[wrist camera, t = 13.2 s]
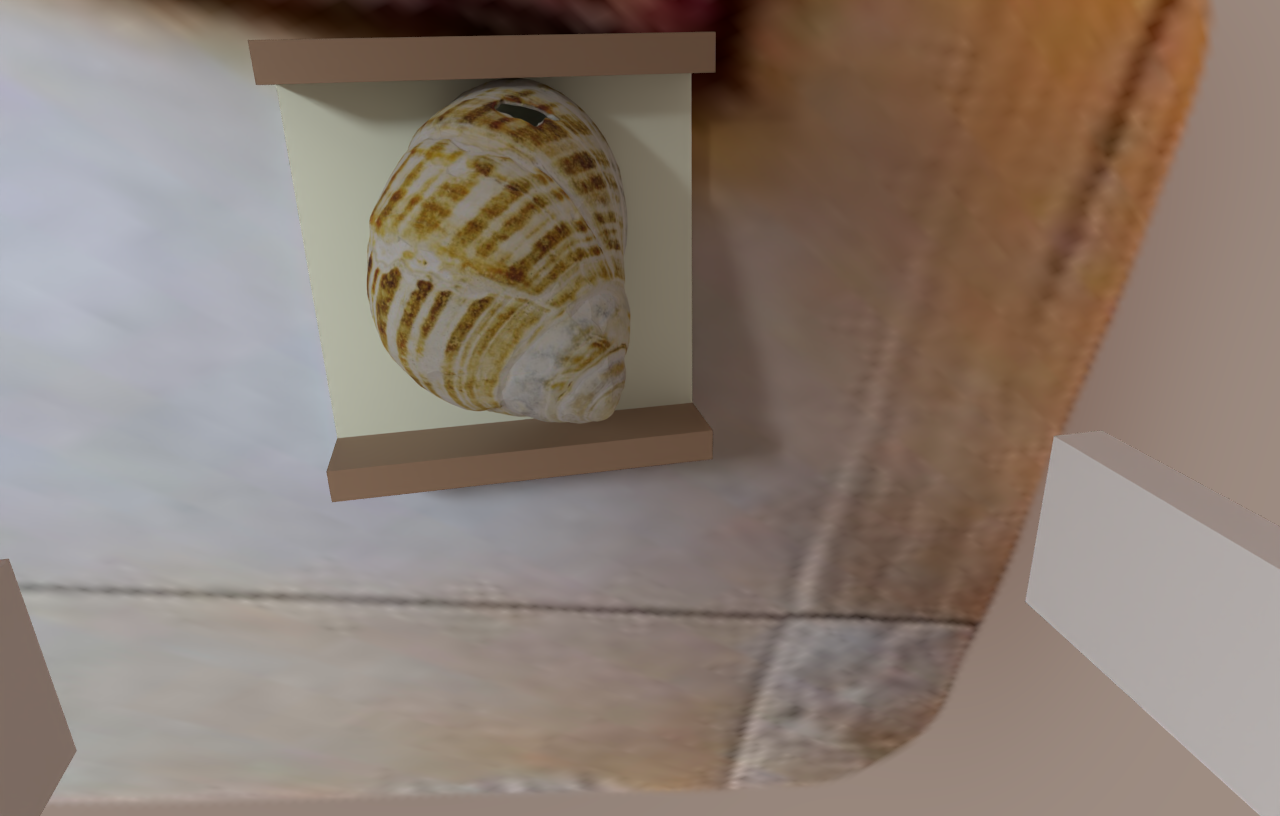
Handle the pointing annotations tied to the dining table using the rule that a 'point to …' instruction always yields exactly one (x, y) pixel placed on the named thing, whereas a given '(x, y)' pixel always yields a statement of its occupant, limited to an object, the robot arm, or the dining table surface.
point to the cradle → (355, 177)
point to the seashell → (505, 258)
